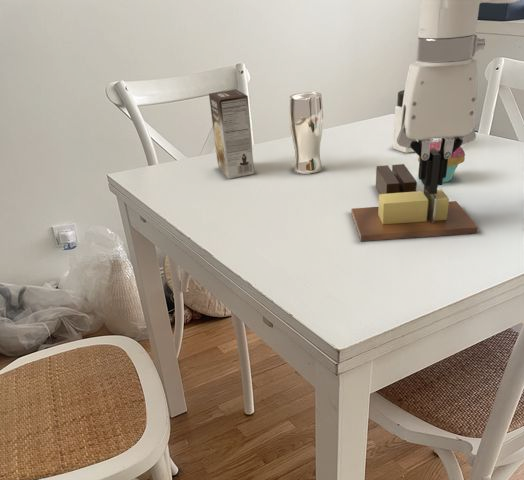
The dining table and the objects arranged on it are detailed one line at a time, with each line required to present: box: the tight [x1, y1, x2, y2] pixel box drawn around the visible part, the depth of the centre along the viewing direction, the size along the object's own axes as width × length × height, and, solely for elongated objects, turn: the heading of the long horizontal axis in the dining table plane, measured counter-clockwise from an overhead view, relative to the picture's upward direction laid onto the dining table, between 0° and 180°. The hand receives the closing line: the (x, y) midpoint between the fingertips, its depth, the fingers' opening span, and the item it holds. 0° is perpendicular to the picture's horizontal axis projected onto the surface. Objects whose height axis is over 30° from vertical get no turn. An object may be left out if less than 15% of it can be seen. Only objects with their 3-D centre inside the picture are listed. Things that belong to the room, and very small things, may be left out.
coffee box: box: [208, 89, 255, 180], centre depth 117 cm, size 9×6×16 cm
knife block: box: [375, 163, 418, 195], centre depth 99 cm, size 5×11×4 cm, turn 179°
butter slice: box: [434, 189, 450, 221], centre depth 87 cm, size 2×4×4 cm, turn 179°
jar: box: [392, 89, 434, 154], centre depth 122 cm, size 9×8×12 cm
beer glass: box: [288, 91, 324, 175], centre depth 114 cm, size 7×7×15 cm
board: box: [350, 200, 479, 242], centre depth 89 cm, size 18×12×1 cm, turn 89°
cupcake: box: [417, 140, 466, 184], centre depth 102 cm, size 9×8×12 cm
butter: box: [377, 190, 428, 224], centre depth 88 cm, size 7×4×4 cm, turn 90°
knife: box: [423, 149, 441, 224], centre depth 85 cm, size 1×7×10 cm, turn 179°
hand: (431, 182), depth 85 cm, fingers closed on knife, 1 cm apart
